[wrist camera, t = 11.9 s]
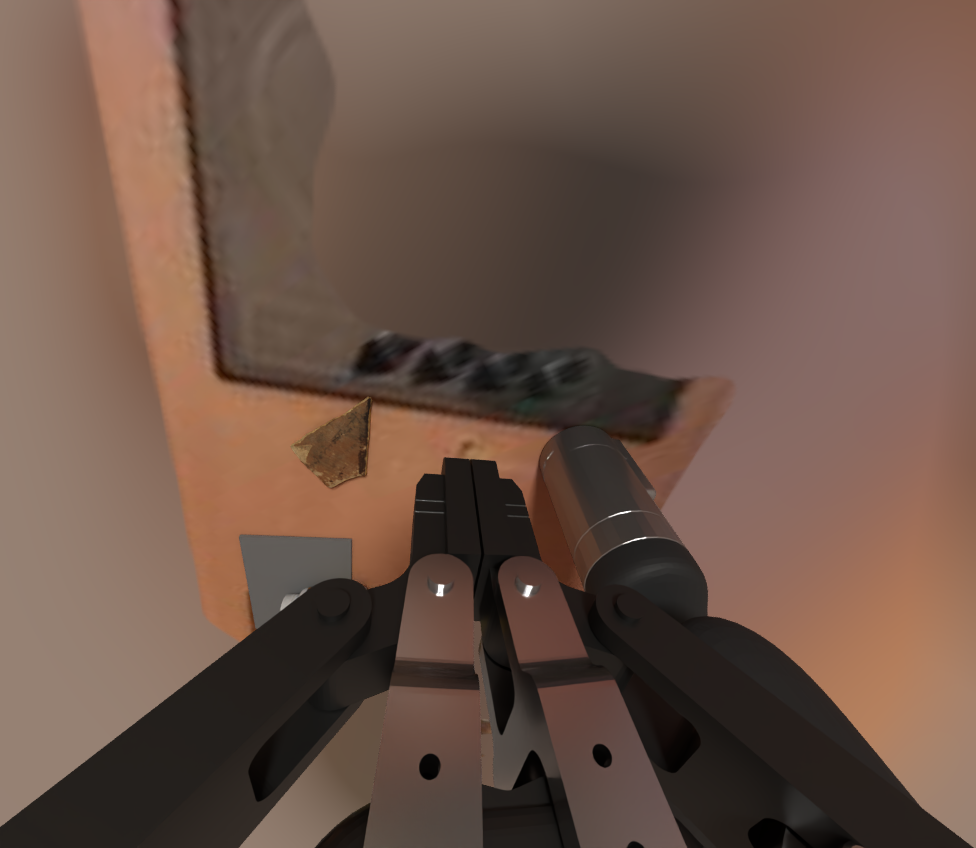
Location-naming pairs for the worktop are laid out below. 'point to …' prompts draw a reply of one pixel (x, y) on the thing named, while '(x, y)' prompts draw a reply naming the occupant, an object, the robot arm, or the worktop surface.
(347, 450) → the shard
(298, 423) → the worktop surface
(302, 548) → the mat
